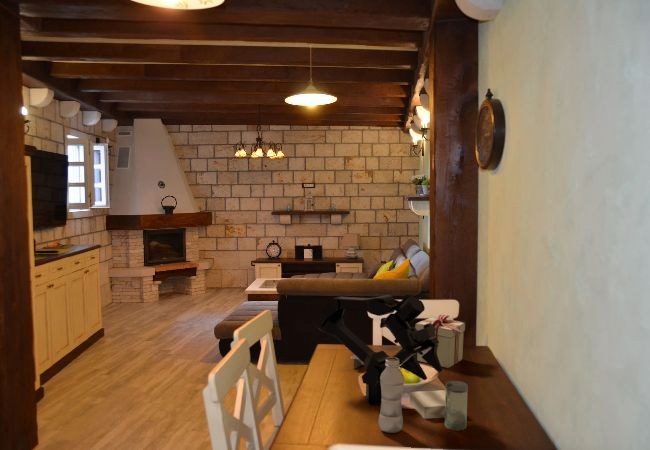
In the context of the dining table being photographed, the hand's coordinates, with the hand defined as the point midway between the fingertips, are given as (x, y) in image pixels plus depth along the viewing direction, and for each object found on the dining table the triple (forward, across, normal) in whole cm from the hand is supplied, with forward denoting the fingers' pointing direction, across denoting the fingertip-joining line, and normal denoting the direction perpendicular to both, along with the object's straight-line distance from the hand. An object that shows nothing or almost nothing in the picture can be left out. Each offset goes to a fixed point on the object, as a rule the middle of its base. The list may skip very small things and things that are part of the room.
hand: (433, 375), depth 156 cm
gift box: (-8, +53, +26) cm, 60 cm away
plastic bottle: (+6, -15, +13) cm, 20 cm away
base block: (+7, +7, +11) cm, 15 cm away
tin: (+14, 0, +4) cm, 15 cm away
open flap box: (-21, +25, +40) cm, 52 cm away
